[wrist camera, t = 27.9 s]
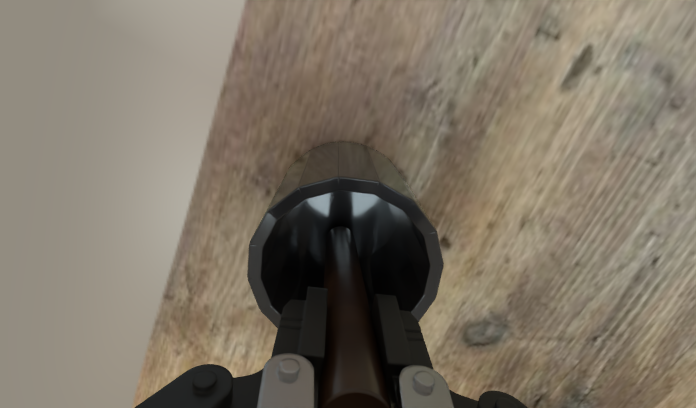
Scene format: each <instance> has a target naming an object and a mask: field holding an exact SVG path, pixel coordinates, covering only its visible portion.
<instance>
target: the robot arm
mask: <svg viewBox="0 0 696 408" xmlns="http://www.w3.org/2000/svg"><path fill="white" fill-rule="evenodd" d="M327 297H328V289H327V288H317V287H308V290H307V297H306V301H305V300H295V299H291V300H290V301H289V302H288V303H287V304H286V305H285V306H284V307H283V311H282V315H281V319H280V323H279V327H278V332H277V336H276V340H275V344H274V348H273V352H272V357H271V359H269V360H268V361H267V362H266V364H265V366H264V368H263V369H262V370H260V371H259V372H257V373H254V374H252V375H248V376H243V377H237V378H233V377H232V375H231V373H230V372H229V371H228V370H227V369H226V368H224V367H222V366H219V365H214V364H207V365H200V366H197V367H194V368H192V369H190V370H188V371H186V372H185V373H183V374H182V375H181V376H179V377H178V378H176V379H175V380H173V381H172V382H171V383H169V384H168V385H166V386H165V387H163V388H162V389H161V390H159V391H158V392H156V393H155V394H154V395H152V396H151V397H149V398H148V399H146V400H145V401H144V402H142V403H141V404H139V405H138V406H136V407H135V408H317V401H318V384H319V380H320V377H321V375H322V371H323V364H324V356H325V336H326V316H327ZM371 317H372V322H373V326H374V331H375V336H376V340H377V345H378V349H379V354H380V359H381V363H382V368H383V372H384V377H385V381H386V386H387V390H388V395H389V400H390V404H391V408H527V407H526V406H525V405H524V404H523V403H521V402H520V401H519V400H518V399H516V398H514V397H513V396H511V395H509V394H506V393H503V392H500V391H487V392H485V393H483V394H482V395H481V396H480V398H479V401H476V400H473V399H470V398H467V397H464V396H461V395H459V394H456V393H454V392H452V391H451V390H449V388H448V384H447V382H446V381H445V379H444V378H443V377H442V376H441V375H440V374H439V373H438V372H436V371H435V370H433V367H432V363H431V360H430V357H429V354H428V351H427V348H426V345H425V341H424V338H423V335H422V333H421V329H420V326H419V323H418V320H417V319H416V318H415V317H414V316H413V315H412V314H411V313H410V311H402V310H399V306H398V302H397V298H396V296H393V295H384V294H375V296H374V299H373V305H372V311H371Z"/></svg>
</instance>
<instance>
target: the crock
mask: <svg viewBox="0 0 696 408" xmlns="http://www.w3.org/2000/svg"><path fill="white" fill-rule="evenodd" d="M338 226H343V227H346V228H348V229H349V230H351V232H352V233H353V235H354V239H355V243H356V248H357V252H358V257H359V262H360V266H361V271H362V275H363V280H364V285H365V289H366V294H367V298H368V303H369V308H370V312H371V311H372V305H373V299H374V296H375V294H384V295H393V296H396V298H397V302H398V306H399V310H402V311H410V313H411V314H412V315H413V316H414V317H415V318H416V319H417V320H418V322H419V320H420V319H421V318H422V316H423V315H424V314H425V312H426V311H427V310H428V308H429V307H430V305H431V304H432V303H433V301H434V300H435V298H436V295H437V291H438V287H439V283H440V278H441V274H442V270H443V264H444V263H443V258H442V254H441V249H440V244H439V239H438V235H437V231H436V229H435V227H434V226H433V224H432V222H431V221H430V219H429V218H428V216H427V214H426V213H425V211H424V210H423V208H422V207H421V205H420V203H419V202H418V200H417V199H416V197H415V195H414V194H413V192H412V191H411V189H410V188H409V186H408V184H407V183H406V181H405V180H404V178H403V177H402V176H401V174H400V173H399V172H398V170H397V169H396V167H395V166H394V165H393V163H392V162H391V161H390V160H389V159H388V158H386V157H385V156H384V155H383V154H381V153H380V152H378V151H377V150H375V149H373V148H371V147H369V146H366V145H363V144H359V143H354V142H344V141H342V142H332V143H327V144H323V145H321V146H318V147H315V148H313V149H311V150H309V151H308V152H306V153H305V154H304V155H302V156H301V157H300V158H299V159H298V160H296V161H295V163H294V164H293V165H291V167H290V168H289V170H288V172H287V173H286V175H285V177H284V179H283V181H282V183H281V184H280V186H279V188H278V190H277V192H276V194H275V196H274V198H273V199H272V201H271V203H270V205H269V207H268V209H267V211H266V213H265V214H264V216H263V218H262V220H261V222H260V224H259V226H258V228H257V229H256V231H255V233H254V235H253V237H252V239H251V241H250V244H249V256H248V274H247V277H248V281H249V284H250V286H251V289H252V291H253V294H254V296H255V299H256V301H257V304H258V306H259V309H260V310H261V312H262V313H263V314H264V315H265V316H266V317H267V318H268V319H269V320H270V321H271V322H272V323H273V324H274V325H275V326H276V327H277V328H278V327H279V323H280V319H281V315H282V311H283V307H284V306H285V305H286V304H287V303H288V302H289V301H290V300H291V299H295V300H305V301H306V297H307V290H308V287H317V288H324V271H325V253H326V237H327V234H328V233H329V231H330V230H331V229H333V228H335V227H338Z"/></svg>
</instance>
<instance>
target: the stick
mask: <svg viewBox="0 0 696 408" xmlns="http://www.w3.org/2000/svg"><path fill="white" fill-rule="evenodd" d="M324 288H327V289H328V297H327V316H326V336H325V356H324V364H323V371H322V375H321V377H320V380H319V384H318V401H317V408H391V404H390V400H389V395H388V390H387V386H386V381H385V377H384V372H383V368H382V363H381V359H380V354H379V349H378V345H377V340H376V336H375V331H374V326H373V322H372V317H371V312H370V308H369V303H368V298H367V294H366V289H365V285H364V280H363V275H362V271H361V266H360V262H359V257H358V252H357V248H356V243H355V239H354V235H353V233H352V232H351V230H349V229H348V228H346V227H343V226H338V227H335V228H333V229H331V230H330V231H329V233H328V234H327V237H326V253H325V271H324Z"/></svg>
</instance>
